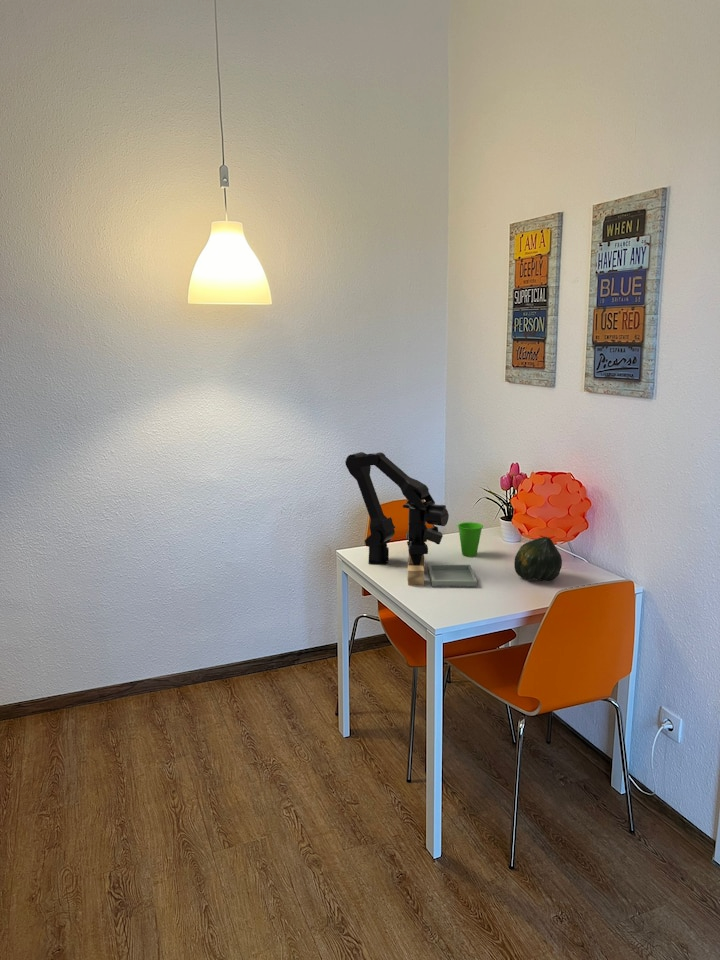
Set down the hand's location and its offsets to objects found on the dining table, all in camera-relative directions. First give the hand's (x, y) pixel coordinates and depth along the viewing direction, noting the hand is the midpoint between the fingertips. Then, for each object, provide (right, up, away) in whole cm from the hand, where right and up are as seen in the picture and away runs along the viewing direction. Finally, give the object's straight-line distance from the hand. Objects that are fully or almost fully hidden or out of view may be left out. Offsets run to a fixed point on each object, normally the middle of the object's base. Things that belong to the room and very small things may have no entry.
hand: (416, 566), depth 235 cm
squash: (+39, -3, -8) cm, 40 cm away
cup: (+20, +2, +15) cm, 26 cm away
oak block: (-1, -4, -13) cm, 13 cm away
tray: (+11, -3, -9) cm, 14 cm away
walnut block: (0, -1, 0) cm, 1 cm away
